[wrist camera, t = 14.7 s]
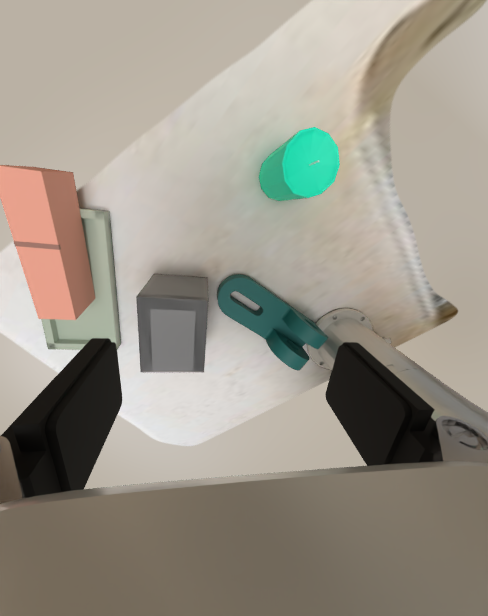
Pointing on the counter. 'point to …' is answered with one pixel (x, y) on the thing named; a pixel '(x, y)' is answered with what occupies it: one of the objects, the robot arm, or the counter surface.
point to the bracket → (271, 320)
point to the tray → (104, 309)
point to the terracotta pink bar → (48, 239)
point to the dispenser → (173, 324)
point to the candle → (300, 166)
